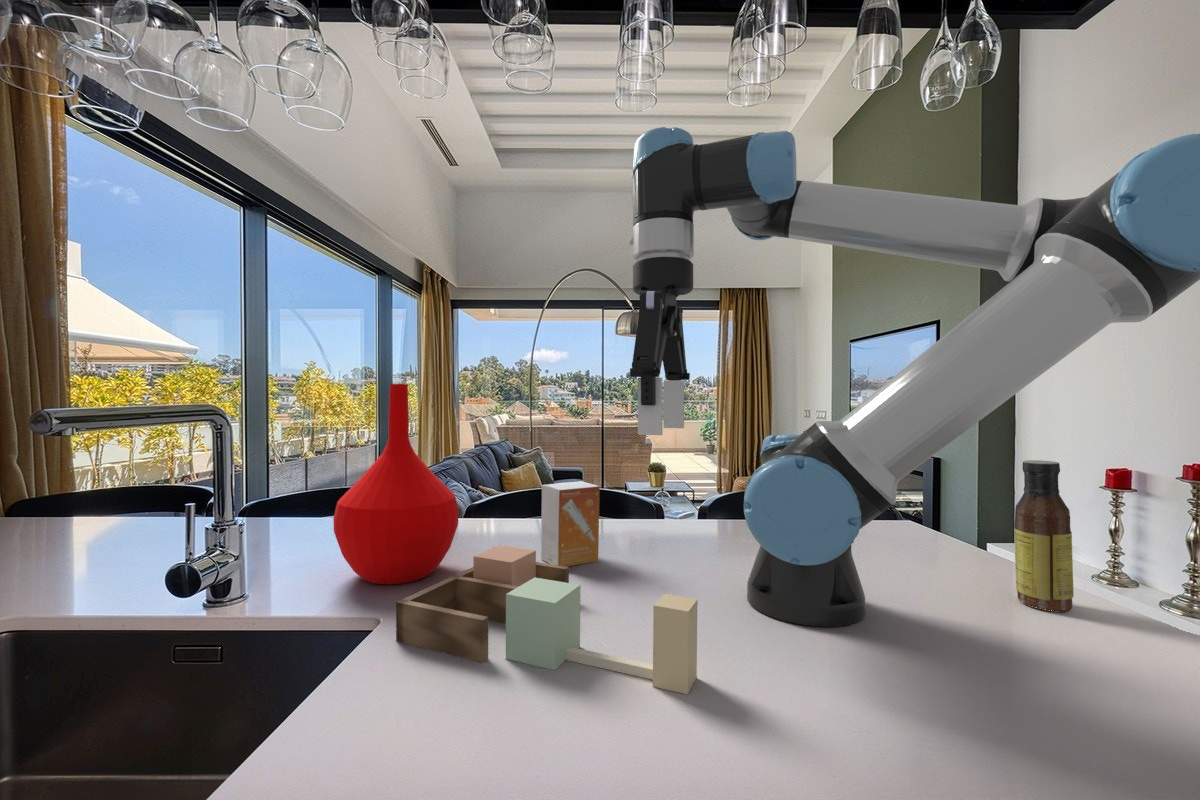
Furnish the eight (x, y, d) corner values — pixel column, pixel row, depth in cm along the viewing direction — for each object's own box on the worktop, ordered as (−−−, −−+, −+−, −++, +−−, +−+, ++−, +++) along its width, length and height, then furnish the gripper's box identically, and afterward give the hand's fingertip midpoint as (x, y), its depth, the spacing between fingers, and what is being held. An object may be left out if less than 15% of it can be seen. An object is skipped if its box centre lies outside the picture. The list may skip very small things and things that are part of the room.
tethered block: (699, 671, 58) (700, 595, 58) (684, 701, 52) (685, 616, 52) (534, 636, 66) (534, 568, 66) (505, 658, 60) (506, 584, 60)
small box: (558, 569, 91) (558, 489, 90) (540, 559, 96) (540, 484, 96) (599, 561, 95) (600, 485, 95) (580, 552, 100) (581, 480, 100)
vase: (406, 603, 76) (407, 383, 75) (304, 585, 82) (305, 382, 82) (480, 564, 93) (481, 385, 93) (391, 552, 99) (391, 384, 99)
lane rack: (568, 599, 78) (568, 567, 78) (482, 662, 59) (482, 620, 59) (496, 586, 82) (496, 556, 82) (396, 641, 64) (396, 602, 64)
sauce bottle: (1064, 601, 78) (1067, 460, 78) (1080, 617, 73) (1083, 465, 73) (1008, 594, 81) (1010, 457, 81) (1019, 609, 76) (1022, 462, 75)
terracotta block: (535, 600, 77) (535, 550, 77) (511, 616, 72) (511, 562, 72) (499, 594, 80) (499, 545, 80) (473, 608, 74) (473, 556, 74)
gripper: (656, 282, 83) (656, 425, 83) (602, 237, 59) (603, 437, 59) (707, 278, 80) (707, 426, 81) (672, 230, 57) (672, 439, 57)
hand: (663, 431), depth 70 cm, fingers open, 13 cm apart
